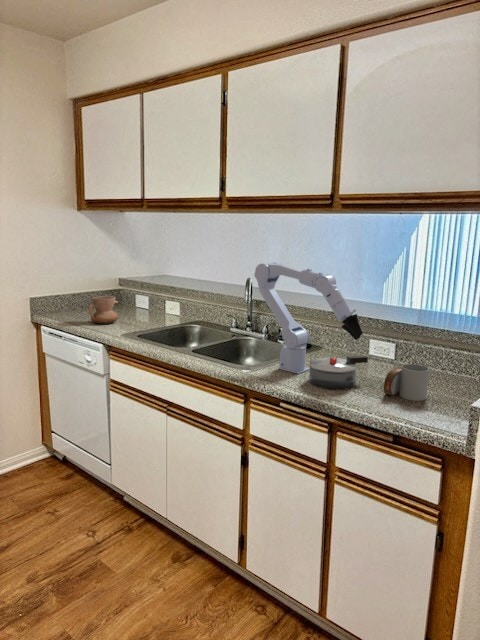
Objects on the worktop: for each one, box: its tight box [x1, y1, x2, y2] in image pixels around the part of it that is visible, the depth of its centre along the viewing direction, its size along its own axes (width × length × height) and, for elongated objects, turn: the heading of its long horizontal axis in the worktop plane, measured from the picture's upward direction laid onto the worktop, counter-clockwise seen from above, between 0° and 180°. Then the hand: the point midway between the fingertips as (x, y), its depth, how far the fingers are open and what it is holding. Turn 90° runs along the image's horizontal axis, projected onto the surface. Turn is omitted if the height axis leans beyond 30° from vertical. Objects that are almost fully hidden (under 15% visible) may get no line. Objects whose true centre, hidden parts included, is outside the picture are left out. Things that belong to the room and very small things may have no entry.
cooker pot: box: [308, 366, 357, 391], centre depth 176 cm, size 16×21×6 cm
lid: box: [309, 354, 369, 373], centre depth 174 cm, size 21×16×3 cm
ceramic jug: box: [88, 295, 119, 325], centre depth 265 cm, size 18×14×14 cm
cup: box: [399, 363, 430, 402], centre depth 161 cm, size 8×8×10 cm
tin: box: [383, 365, 402, 396], centre depth 165 cm, size 15×3×8 cm, turn 141°
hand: (359, 337), depth 170 cm, fingers open, 7 cm apart
